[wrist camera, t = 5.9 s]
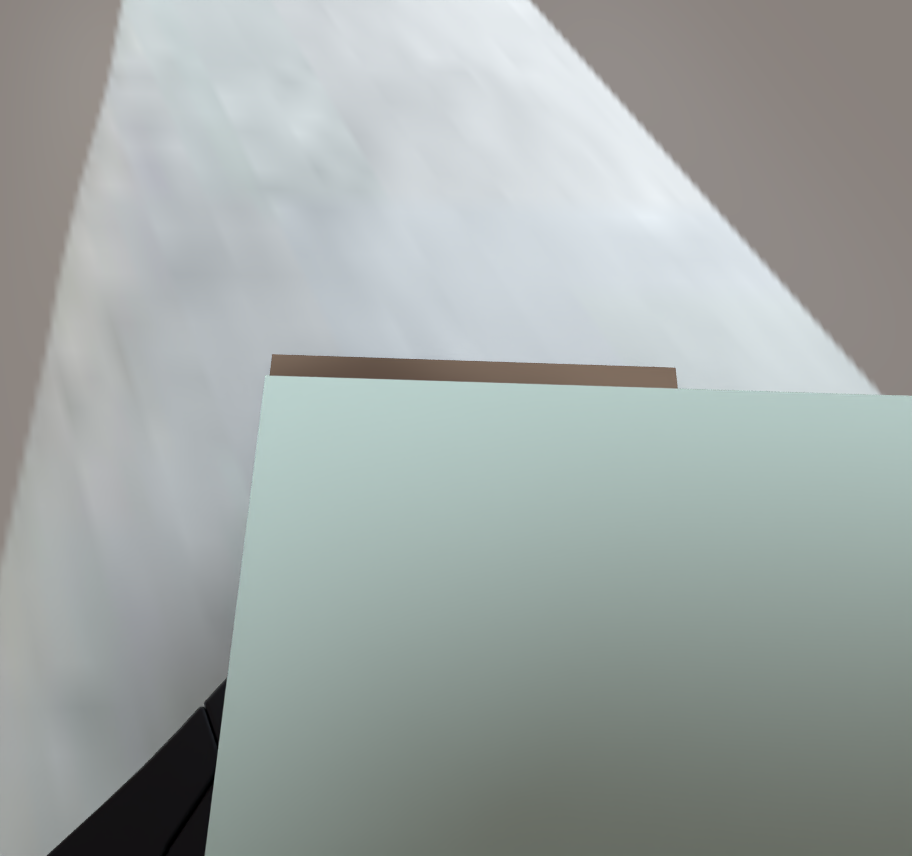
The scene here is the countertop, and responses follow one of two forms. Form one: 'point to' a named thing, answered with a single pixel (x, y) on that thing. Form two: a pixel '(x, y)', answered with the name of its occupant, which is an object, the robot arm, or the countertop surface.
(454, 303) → the countertop surface
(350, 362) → the brown stepped stand
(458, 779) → the stub
